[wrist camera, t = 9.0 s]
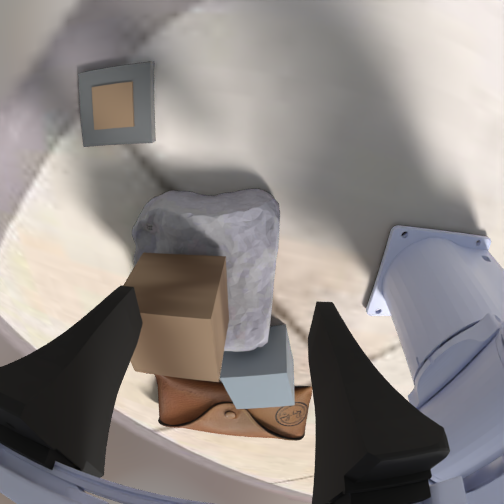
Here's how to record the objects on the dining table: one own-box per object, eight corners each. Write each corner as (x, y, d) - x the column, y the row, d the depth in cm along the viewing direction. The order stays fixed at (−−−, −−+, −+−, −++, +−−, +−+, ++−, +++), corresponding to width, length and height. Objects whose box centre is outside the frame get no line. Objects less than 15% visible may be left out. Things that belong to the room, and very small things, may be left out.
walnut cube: (225, 256, 18) (210, 319, 13) (229, 319, 20) (218, 382, 16) (143, 252, 18) (109, 309, 14) (157, 313, 21) (134, 371, 16)
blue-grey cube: (285, 323, 25) (286, 372, 21) (293, 360, 28) (294, 405, 24) (227, 330, 26) (219, 377, 22) (241, 365, 29) (236, 409, 25)
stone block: (168, 302, 28) (278, 325, 25) (143, 337, 24) (264, 369, 21) (152, 173, 21) (291, 186, 19) (112, 197, 17) (276, 215, 15)
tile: (153, 61, 15) (149, 61, 14) (155, 140, 18) (151, 143, 17) (83, 72, 15) (77, 73, 14) (88, 144, 18) (82, 147, 17)
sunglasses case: (319, 384, 30) (315, 445, 27) (307, 387, 36) (304, 437, 33) (148, 368, 30) (141, 427, 27) (164, 374, 37) (159, 423, 34)
